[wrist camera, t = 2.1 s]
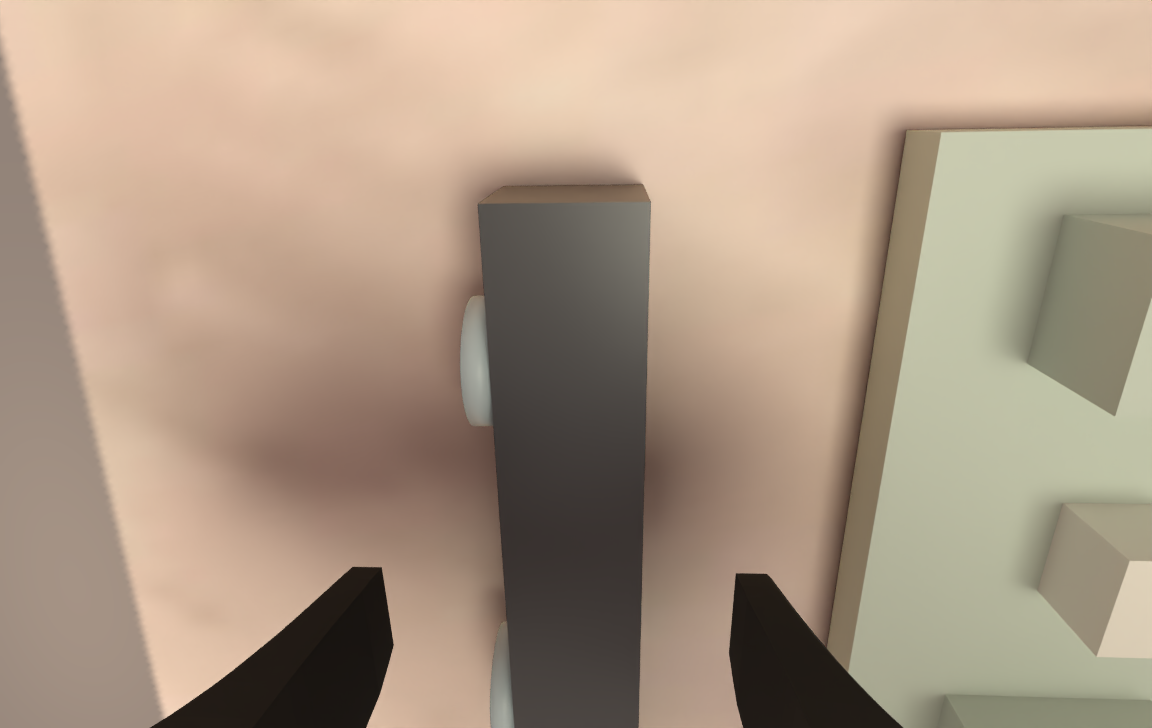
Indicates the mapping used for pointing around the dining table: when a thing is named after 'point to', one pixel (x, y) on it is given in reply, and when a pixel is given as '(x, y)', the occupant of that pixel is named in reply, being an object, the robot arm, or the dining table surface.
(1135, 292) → the stand
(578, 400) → the bar
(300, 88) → the dining table surface
